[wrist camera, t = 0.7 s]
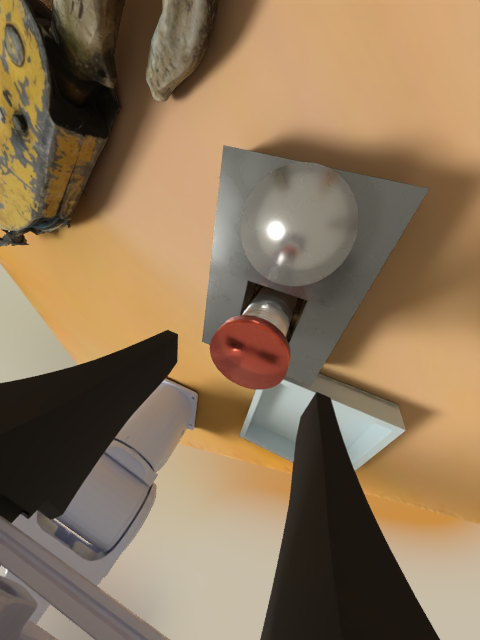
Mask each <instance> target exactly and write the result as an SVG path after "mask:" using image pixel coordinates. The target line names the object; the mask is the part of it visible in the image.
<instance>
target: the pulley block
mask: <svg viewBox="0 0 480 640" xmlns="http://www.w3.org/2000/svg"><path fill="white" fill-rule="evenodd" d="M218 2H219V0H162V4H163V11H162V14H161V17H160V19H159V22H158V24H157V27H156V30H155V32H154V35H153V38H152V40H151V47H150V50H149V56H148V63H147V67H146V81H147V83H148V85H149V87H150V90H151V93H152V96H153V98H154V100H156V101H158V102H163V101H166V100H167V99H168V98H169V96H170V95H171V93H172V92H173V90H174V89H175V87H177V86H178V85H179V84H180V83H181V82H182V81H183V80H184V79H185V78H187V77H188V76H189V75H190V74H191V73H193V71H194V70H195V69H196V68H197V67H198V66H199V64H200V63H201V61H202V59H203V56H204V54H205V52H206V50H207V48H208V46H209V43H210V40H211V37H212V33H213V29H214V24H215V19H216V14H217V9H218ZM124 3H125V0H53V12H52V11H51V10H50V9H49V8H48V7H47V6H46V5H45V4H44V3H42V2H41V1H40V0H0V228H1V230H2V229H3V230H2V231H4V232H6V235H4V236H3V238H0V246H7V245H9V244H10V243H11V245H12V246H15V245H30V244H27V243H26V241H27V240H26V239H25V237H24V235H23V234H25V233H27V232H29V231H31V232H33V233H35V234H36V235H38V234H41V233H45V232H51V231H52V230H55V229H57V230H59V229H60V228H61V227H63V226H65V225H66V224H67V225H68V227H70V220H71V219H72V214H73V212H74V210H75V207H76V205H77V203H78V201H79V199H80V197H81V195H82V192H84V186H85V184H86V182H87V180H88V178H89V176H90V173H91V171H92V169H93V167H94V165H95V163H96V161H97V158H98V156H99V154H100V152H101V150H102V149H103V147H104V145H105V144H106V141H107V139H108V137H109V134H110V131H111V128H112V125H113V122H114V119H115V117H116V112H119V111H120V105H119V102H118V100H117V97H116V93H115V88H114V85H115V83H116V81H117V72H116V65H115V58H114V53H115V46H116V40H117V34H118V30H119V26H120V21H121V17H122V12H123V8H124ZM84 193H85V192H84ZM85 195H86V194H85ZM86 196H87V195H86ZM8 230H10V232H8Z"/></svg>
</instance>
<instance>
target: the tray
mask: <svg viewBox="0 0 480 640" xmlns="http://www.w3.org/2000/svg"><path fill="white" fill-rule="evenodd" d="M316 392H318V393H321V394H323V395H326V396H328V397H330V398H331V400H332V404H333V408H334V411H335V415H336V418H337V421H338V425H339V428H340V431H341V434H342V437H343V440H344V443H345V446H346V449H347V452H348V455H349V457H350V460H351V463H352V465H353V468H354V471H356V470H357V469H358V468H359V467H361V466H362V465H363V464H364V463H366V462H367V461H368V460H369V459H371V458H372V457H373V456H374V455H376V454H377V453H378V452H379V451H381V450H382V449H383V448H384V447H386V446H387V445H388V444H389V443H391V442H392V441H393V440H394V439H396V438H397V437H398V436H399V435H401V434H402V433H403V432H404V431H406V429H405V426H404V423H403V419H402V416H401V413H400V409H399V406H398V404H395V403H392V402H390V401H387V400H385V399H382V398H380V397H377V396H375V395H372V394H370V393H367V392H365V391H362V390H360V389H357V388H355V387H352V386H350V385H347V384H345V383H342V382H340V381H337V380H335V379H332V378H329V377H327V376H324V375H322V374H319V373H318V375H317V377H316V378H315V380H314V382H313V383H312V385H311V386H309V385H306V384H304V383H301V382H299V381H297V380H294V379H292V378H289V377H287V376H285V378H284V379H283V380H282V382H281V383H279V384H278V385H276V386H275V387H272V388H269V389H263V390H257V389H256V392H255V395H254V397H253V400H252V403H251V405H250V408H249V411H248V414H247V416H246V419H245V422H244V424H243V427H242V430H241V432H240V435H239V436H240V437H242V438H244V439H246V440H248V441H250V442H252V443H254V444H256V445H258V446H260V447H262V448H264V449H266V450H268V451H271V452H273V453H275V454H277V455H279V456H281V457H283V458H285V459H287V460H289V461H291V462H294V452H295V443H296V436H297V431H298V426H299V422H300V417H301V415H302V414H303V412H304V411H305V409H306V407H307V406H308V404H309V403H310V401H311V400H312V398H313V396H314V395H315V393H316Z"/></svg>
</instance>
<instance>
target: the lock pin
mask: <svg viewBox="0 0 480 640" xmlns="http://www.w3.org/2000/svg"><path fill="white" fill-rule="evenodd" d="M296 303H297V297H295V296H292V295H289V294H286V293H283V292H280V291H277V290H274V289H271V288H269V287H266V286H263V287H262V288H261V289H260V291H259V292H258V294H257V295H256V296H255V298H254V299H253V301H252V302H251V303H250V305H249V306H248V308H247V309H246V310H245V312H244V313H243V315H240V316H235V317H232V318H230V319H228V320H227V321H226V322H224V323H223V325H222V326H221V327H220V328H219V329H218V331H217V332H216V333H215V334H214V336H213V337H212V340H211V343H210V354H211V357H212V360H213V362H214V364H215V365H216V367H217V368H218V370H219V371H220V372H221V373H222V374H223V375H224V376H225V377H226V378H228V379H229V380H231V381H232V382H234V383H236V384H238V385H240V386H243V387H246V388H250V389H257V390H263V389H269V388H272V387H275V386H276V385H278V384H279V383H281V382H282V380H283V379H284V378H285V376H286V373H287V370H288V366H289V362H290V357H291V350H290V346H289V343H288V341H287V339H286V334H287V331H288V328H289V325H290V322H291V319H292V315H293V312H294V309H295V306H296Z"/></svg>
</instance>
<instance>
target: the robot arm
mask: <svg viewBox="0 0 480 640" xmlns="http://www.w3.org/2000/svg"><path fill="white" fill-rule="evenodd" d="M177 350H178V334H176V333H174V332H171V331H169V330H167V331H164V332H162V333H160V334H157V335H155V336H153V337H151V338H148V339H146V340H144V341H141V342H139V343H137V344H134V345H132V346H130V347H127V348H125V349H122V350H120V351H117V352H115V353H112V354H109V355H107V356H104V357H101V358H99V359H96V360H93V361H90V362H87V363H83V364H80V365H77V366H74V367H70V368H67V369H63V370H59V371H55V372H51V373H47V374H43V375H39V376H35V377H30V378H26V379H21V380H15V381H11V382H5V383H0V566H1V565H2V566H3V567H4V568H6V573H5V574H4V576H3V577H2V576H0V640H58V639H56V638H55V637H53V636H52V635H50V634H49V633H48V632H46V631H45V630H43V629H42V628H40V627H39V626H37V625H36V624H37V622H38V621H39V619H40V618H41V617H42V615H43V614H44V612H45V611H46V610H47V608H48V607H49V605H50V604H51V605H52V606H54V607H55V608H56V609H57V610H59V611H60V612H61V613H62V614H64V615H65V616H66V617H68V618H69V619H70V620H71V621H73V622H74V623H75V624H76V625H78V626H79V627H80V628H81V629H82V630H84V631H85V632H86V633H87V634H89V635H90V636H91V637H93V638H94V639H95V640H170V639H168V638H167V637H165V636H164V635H163V634H161V633H160V632H159V631H157V630H156V629H155V628H153V627H152V626H150V625H149V624H148V623H146V622H145V621H144V620H142V619H141V618H139V617H138V616H137V615H135V614H134V613H133V612H131V611H130V610H129V609H127V608H126V607H125V606H123V605H122V604H121V603H119V602H118V601H116V600H115V599H114V598H112V597H111V596H110V595H108V594H107V593H105V592H104V591H103V590H101V589H100V588H99V587H97V586H96V585H98V584H99V583H100V582H101V580H102V579H103V577H105V576H106V575H107V574H108V573H109V571H110V569H111V568H112V566H113V565H114V563H115V562H116V560H117V559H118V557H119V556H120V555H121V553H122V552H123V551H124V550H125V549H126V548H127V546H128V545H129V544H130V543H131V541H132V540H133V539H134V537H135V536H136V534H137V533H138V531H139V530H140V528H141V527H142V525H143V523H144V521H145V520H146V518H147V516H148V514H149V512H150V510H151V508H152V506H153V504H154V501H155V498H156V484H155V483H153V482H154V480H155V479H156V477H157V475H158V474H156V472H157V471H159V470H160V469H161V468H162V467H163V466H164V465H165V463H166V462H167V460H168V459H169V457H170V455H171V454H172V452H173V450H174V449H175V447H176V446H177V444H178V442H179V441H180V439H181V437H182V436H183V434H184V432H185V431H186V429H187V428H188V429H190V430H193V429H194V426H195V418H196V409H197V401H198V394H197V393H196V392H194V391H192V390H190V389H188V388H186V387H184V386H181V385H179V384H177V383H175V382H173V381H171V380H168V379H166V377H167V376H168V374H169V373H170V372H171V370H172V369H173V367H174V366H175V364H176V363H177ZM54 518H56V519H57V520H59V521H60V522H61V523H63V524H64V525H65V526H67V527H68V528H70V529H71V530H72V531H74V532H75V533H77V534H78V535H79V536H81V537H82V538H84V539H85V540H86V541H88V542H89V543H91V544H92V545H91V544H88V543H86V542H84V541H83V540H81V539H80V538H79V537H77V536H76V535H75V534H73V533H72V532H70V531H69V530H68V529H66V528H65V527H63V526H62V525H61V524H59V523H58V522H56V521H55V520H54ZM260 640H440V639H439V637H438V635H437V634H436V632H435V630H434V629H433V627H432V625H431V623H430V622H429V620H428V618H427V616H426V614H425V613H424V611H423V609H422V607H421V606H420V604H419V602H418V600H417V599H416V597H415V595H414V593H413V591H412V589H411V587H410V586H409V584H408V582H407V580H406V578H405V576H404V574H403V572H402V570H401V569H400V567H399V565H398V563H397V561H396V559H395V557H394V555H393V554H392V552H391V550H390V548H389V546H388V544H387V542H386V540H385V538H384V536H383V534H382V532H381V530H380V528H379V525H378V524H377V521H376V519H375V517H374V515H373V513H372V511H371V508H370V506H369V504H368V502H367V500H366V497H365V495H364V493H363V490H362V488H361V485H360V483H359V481H358V478H357V476H356V473H355V471H354V468H353V465H352V463H351V460H350V457H349V455H348V452H347V449H346V446H345V443H344V440H343V437H342V434H341V431H340V428H339V425H338V421H337V418H336V415H335V411H334V408H333V404H332V400H331V398H330V397H328V396H326V395H323V394H321V393H318V392H316V393H315V395H314V396H313V398H312V400H311V401H310V403H309V404H308V406H307V407H306V409H305V411H304V412H303V414H302V415H301V417H300V422H299V426H298V431H297V436H296V443H295V452H294V462H293V472H292V483H291V493H290V500H289V507H288V512H287V518H286V523H285V529H284V534H283V539H282V544H281V549H280V554H279V559H278V564H277V569H276V573H275V578H274V583H273V587H272V591H271V596H270V600H269V605H268V609H267V613H266V618H265V622H264V626H263V631H262V635H261V639H260Z"/></svg>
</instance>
